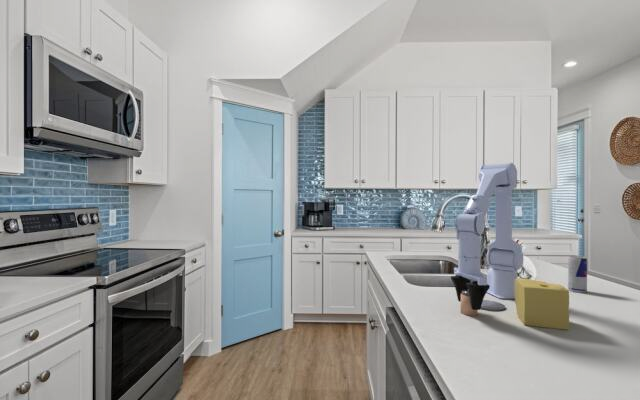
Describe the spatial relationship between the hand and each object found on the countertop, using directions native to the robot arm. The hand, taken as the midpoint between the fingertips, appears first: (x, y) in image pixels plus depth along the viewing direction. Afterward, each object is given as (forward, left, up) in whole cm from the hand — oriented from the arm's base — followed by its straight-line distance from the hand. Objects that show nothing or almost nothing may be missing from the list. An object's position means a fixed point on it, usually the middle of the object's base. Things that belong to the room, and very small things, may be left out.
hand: (468, 305), depth 98 cm
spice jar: (0, 0, -2) cm, 2 cm away
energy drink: (-22, +51, -2) cm, 56 cm away
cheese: (+8, +15, -2) cm, 17 cm away
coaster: (-6, +9, -2) cm, 11 cm away
